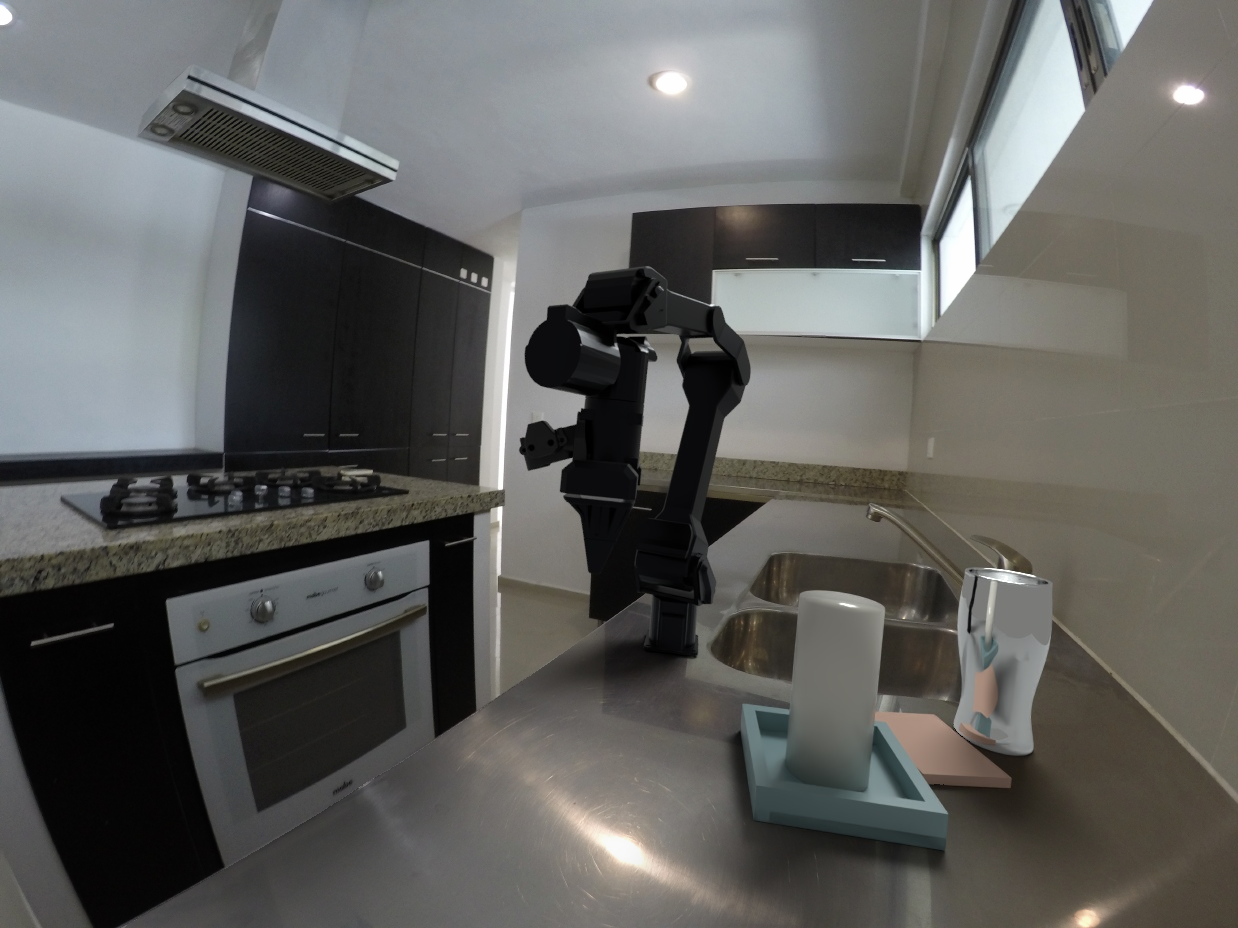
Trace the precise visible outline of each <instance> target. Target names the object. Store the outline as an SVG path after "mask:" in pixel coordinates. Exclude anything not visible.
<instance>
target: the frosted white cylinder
mask: <svg viewBox="0 0 1238 928" xmlns="http://www.w3.org/2000/svg"><path fill="white" fill-rule="evenodd" d="M885 614H886V607H885V606H884V605H883V604H881V603H880V602H877V601H875V600H872V599H869V598H866V597H863V596H859V595H855V594H851V593H845V592H842V591H832V590H815V589H814V590H806V591H802V592H800V593H799V597H798V609H797V622H796V630H795V631H796V632H795V634H796V635H795V643H794V644H795V645H794V654H793V655H794V656H793V667H792V679H791V687H790V688H791V690H790V701H789V710H790V711H789V722H788V733H787V745H786V756H785V763H786V766H787V768H788V769H789V771H790V772H791V773H792V774H793V775H794V776H795V777H797V778H798V779H799V780H801V781H802V782H804V783H806V784H808V785H815V786H822V787H829V788H835V789H842V790H849V791H856V792H862V791H864V790H865V789H866V788H867V787H868V785H869V776H870V765H871V755H872V744H873V733H874V723H875V712H876V711H877V710H876V709H877V699H878V689H879V679H880V678H879V677H880V669H881V668H880V667H881V658H882V647H883V636H884V627H885V626H884V625H885Z"/></svg>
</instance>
